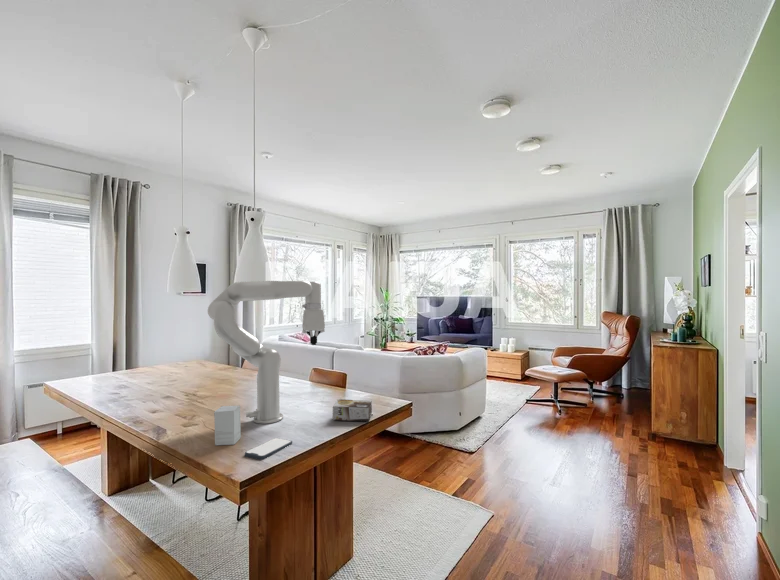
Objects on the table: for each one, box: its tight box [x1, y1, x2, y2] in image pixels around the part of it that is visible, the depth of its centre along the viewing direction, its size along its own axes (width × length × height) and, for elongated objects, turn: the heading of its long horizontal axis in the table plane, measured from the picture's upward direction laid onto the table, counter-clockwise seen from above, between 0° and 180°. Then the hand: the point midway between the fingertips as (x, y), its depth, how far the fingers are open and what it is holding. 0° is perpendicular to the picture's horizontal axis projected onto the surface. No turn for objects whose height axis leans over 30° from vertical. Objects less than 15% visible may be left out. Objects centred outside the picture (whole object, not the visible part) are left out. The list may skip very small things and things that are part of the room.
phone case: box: [244, 437, 293, 461], centre depth 135 cm, size 9×2×16 cm
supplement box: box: [213, 405, 242, 446], centre depth 144 cm, size 7×7×13 cm
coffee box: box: [332, 398, 373, 423], centre depth 168 cm, size 9×6×16 cm
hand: (313, 344), depth 184 cm, fingers closed
